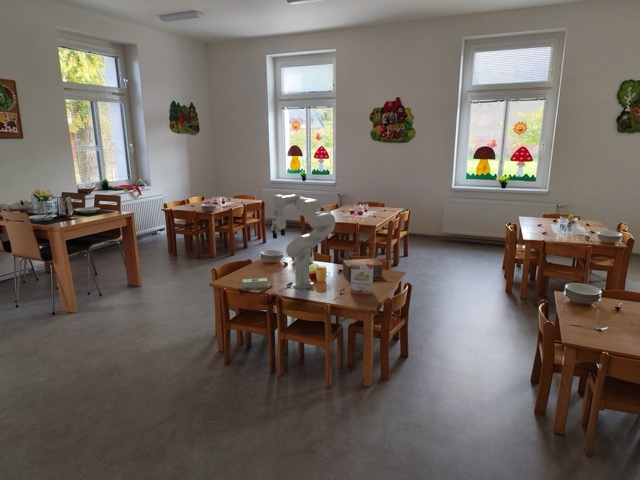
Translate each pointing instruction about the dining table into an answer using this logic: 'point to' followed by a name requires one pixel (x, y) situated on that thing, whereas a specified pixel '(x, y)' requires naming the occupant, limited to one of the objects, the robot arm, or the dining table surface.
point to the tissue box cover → (376, 266)
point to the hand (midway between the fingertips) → (279, 237)
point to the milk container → (310, 257)
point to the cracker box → (361, 277)
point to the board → (256, 289)
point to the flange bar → (255, 283)
